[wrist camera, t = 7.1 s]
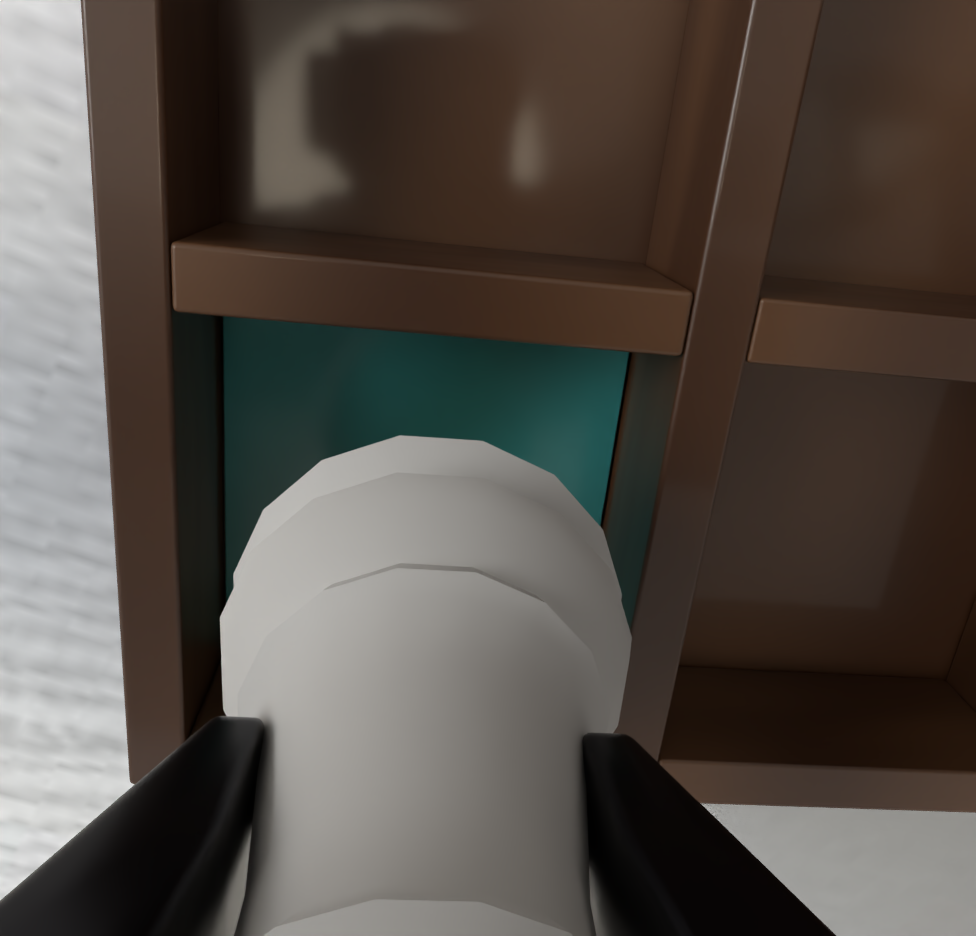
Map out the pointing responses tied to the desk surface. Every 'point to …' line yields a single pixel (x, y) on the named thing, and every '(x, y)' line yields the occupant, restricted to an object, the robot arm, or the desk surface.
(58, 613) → the desk surface
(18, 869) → the desk surface
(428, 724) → the rook chess piece
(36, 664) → the desk surface
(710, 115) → the grid
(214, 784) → the robot arm
